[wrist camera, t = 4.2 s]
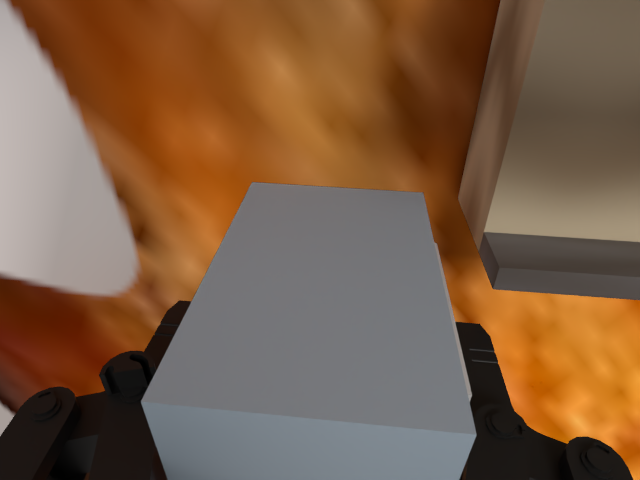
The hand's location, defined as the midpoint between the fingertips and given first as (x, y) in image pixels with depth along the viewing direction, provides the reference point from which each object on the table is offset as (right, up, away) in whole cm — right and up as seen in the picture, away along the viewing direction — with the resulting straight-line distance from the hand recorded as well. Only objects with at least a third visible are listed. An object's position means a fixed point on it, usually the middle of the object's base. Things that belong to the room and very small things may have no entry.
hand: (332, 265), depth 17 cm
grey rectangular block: (0, 0, 0) cm, 0 cm away
